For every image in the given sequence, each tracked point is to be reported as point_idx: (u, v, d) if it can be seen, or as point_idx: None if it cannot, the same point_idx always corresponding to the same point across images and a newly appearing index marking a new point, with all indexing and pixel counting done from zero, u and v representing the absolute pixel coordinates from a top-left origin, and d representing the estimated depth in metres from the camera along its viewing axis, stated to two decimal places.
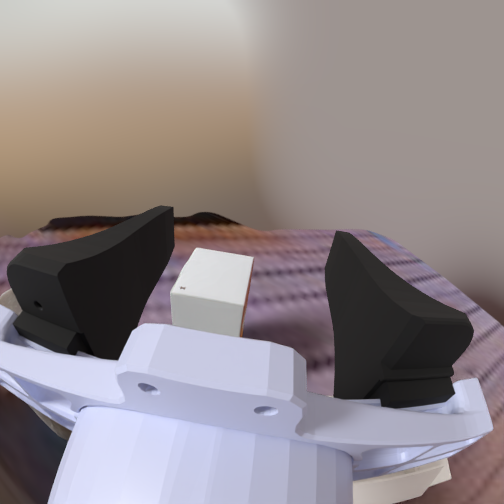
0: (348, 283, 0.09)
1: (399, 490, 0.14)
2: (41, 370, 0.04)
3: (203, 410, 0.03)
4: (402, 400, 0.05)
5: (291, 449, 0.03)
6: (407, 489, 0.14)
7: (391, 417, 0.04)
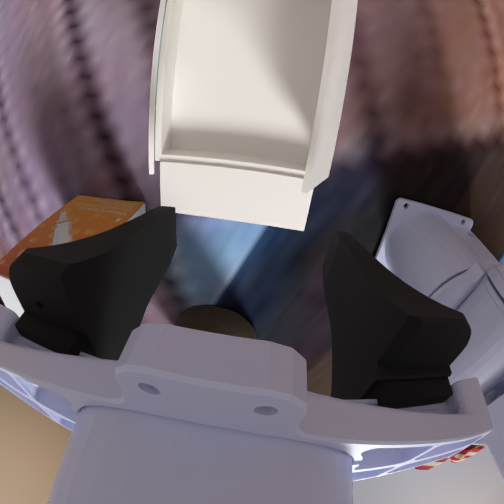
0: (346, 283, 0.09)
1: (345, 25, 0.11)
2: (41, 370, 0.04)
3: (203, 410, 0.03)
4: (399, 400, 0.05)
5: (291, 449, 0.03)
6: (347, 13, 0.10)
7: (391, 417, 0.04)
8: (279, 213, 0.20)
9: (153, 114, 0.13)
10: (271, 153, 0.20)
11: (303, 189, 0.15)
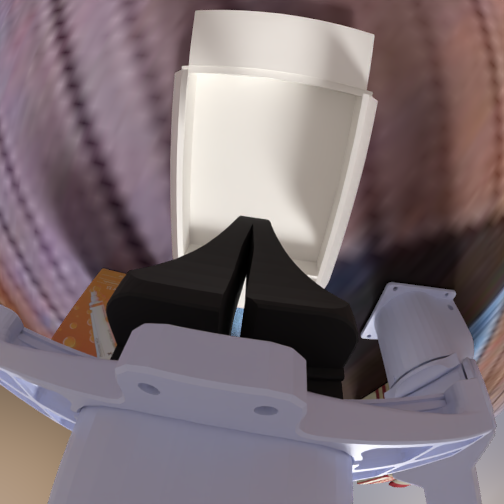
0: (249, 270, 0.09)
1: (360, 162, 0.14)
2: (41, 370, 0.04)
3: (203, 410, 0.03)
4: None
5: (291, 449, 0.03)
6: (364, 146, 0.14)
7: (391, 417, 0.04)
8: None
9: (181, 252, 0.17)
10: None
11: None
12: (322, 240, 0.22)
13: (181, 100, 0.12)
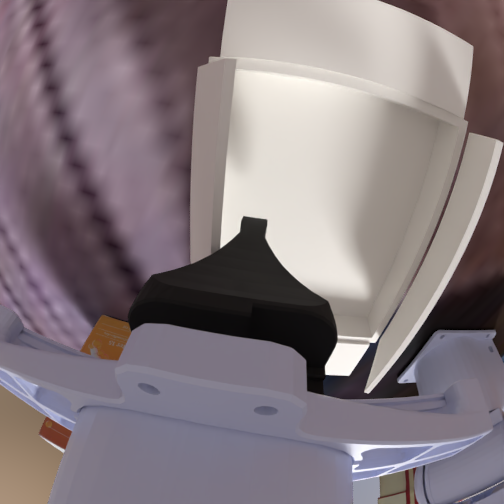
0: None
1: None
2: (41, 370, 0.04)
3: (203, 410, 0.03)
4: None
5: (291, 449, 0.03)
6: None
7: (391, 417, 0.04)
8: (329, 367, 0.19)
9: None
10: None
11: (366, 391, 0.13)
12: (377, 294, 0.17)
13: (222, 117, 0.07)
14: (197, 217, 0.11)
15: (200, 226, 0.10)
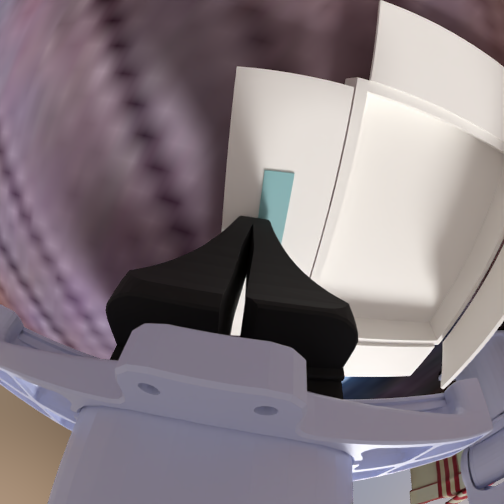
0: (250, 270, 0.09)
1: None
2: (41, 370, 0.04)
3: (203, 410, 0.03)
4: None
5: (291, 449, 0.03)
6: None
7: (391, 417, 0.04)
8: (397, 369, 0.18)
9: None
10: (400, 316, 0.18)
11: (443, 387, 0.13)
12: (442, 302, 0.17)
13: (232, 106, 0.09)
14: None
15: None
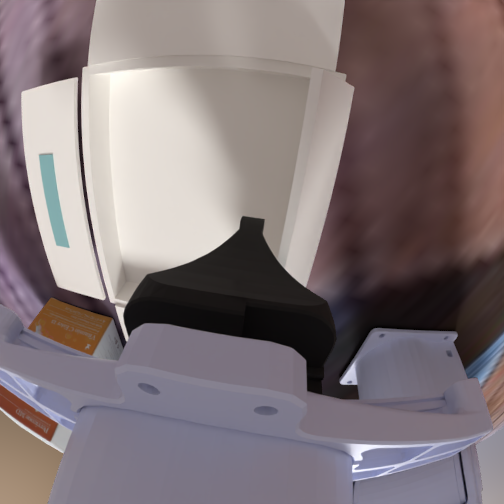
0: None
1: (320, 188, 0.09)
2: (41, 370, 0.04)
3: (203, 410, 0.03)
4: None
5: (291, 449, 0.03)
6: (327, 162, 0.09)
7: (391, 417, 0.04)
8: None
9: (44, 247, 0.15)
10: None
11: None
12: None
13: None
14: None
15: None
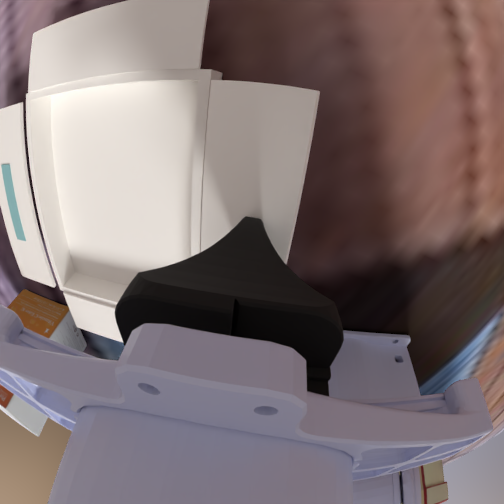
0: None
1: None
2: (41, 370, 0.04)
3: (203, 410, 0.03)
4: None
5: (291, 449, 0.03)
6: None
7: (391, 417, 0.04)
8: None
9: (10, 240, 0.16)
10: None
11: None
12: None
13: None
14: None
15: None
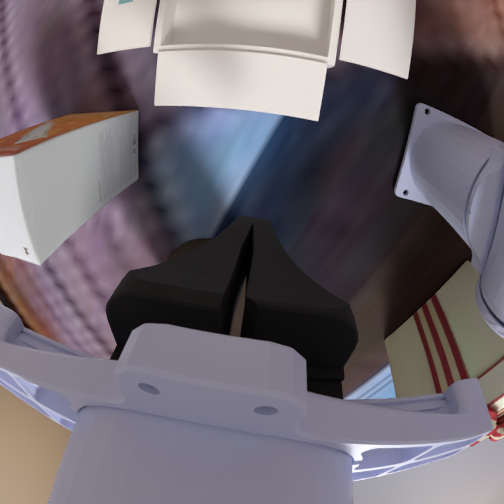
0: (249, 270, 0.09)
1: None
2: (41, 370, 0.04)
3: (203, 410, 0.03)
4: None
5: (291, 449, 0.03)
6: None
7: (391, 417, 0.04)
8: (289, 99, 0.15)
9: (102, 14, 0.12)
10: (278, 47, 0.15)
11: (407, 76, 0.13)
12: (326, 32, 0.14)
13: None
14: None
15: None
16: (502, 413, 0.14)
